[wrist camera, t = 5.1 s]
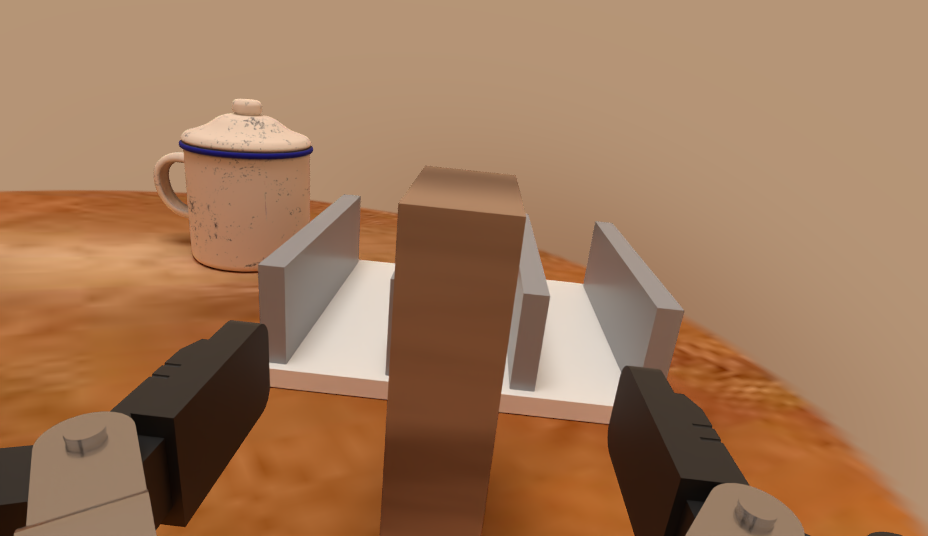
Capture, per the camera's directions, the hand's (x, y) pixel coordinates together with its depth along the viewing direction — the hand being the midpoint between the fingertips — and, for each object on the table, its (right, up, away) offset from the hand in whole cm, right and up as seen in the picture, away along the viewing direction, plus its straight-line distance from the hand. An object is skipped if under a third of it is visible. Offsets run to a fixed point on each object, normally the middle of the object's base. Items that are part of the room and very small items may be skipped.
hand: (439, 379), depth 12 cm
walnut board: (0, -6, +7) cm, 10 cm away
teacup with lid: (-18, +4, +30) cm, 35 cm away
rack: (+1, -1, +21) cm, 21 cm away
